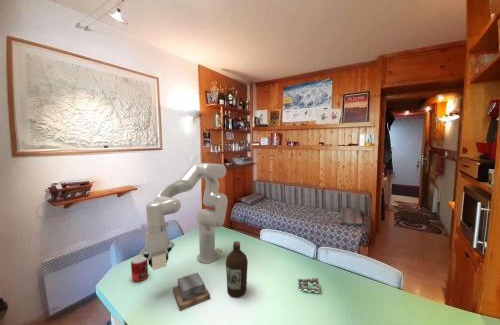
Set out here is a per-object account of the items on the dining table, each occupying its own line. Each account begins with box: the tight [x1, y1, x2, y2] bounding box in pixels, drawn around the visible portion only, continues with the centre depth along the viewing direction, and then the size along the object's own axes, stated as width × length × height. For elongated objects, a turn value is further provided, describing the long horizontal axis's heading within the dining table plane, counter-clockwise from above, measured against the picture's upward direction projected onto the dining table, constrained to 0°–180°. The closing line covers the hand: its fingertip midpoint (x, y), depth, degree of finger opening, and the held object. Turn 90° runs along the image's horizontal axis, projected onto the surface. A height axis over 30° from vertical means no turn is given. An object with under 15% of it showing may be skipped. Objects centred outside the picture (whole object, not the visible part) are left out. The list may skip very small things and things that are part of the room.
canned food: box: [130, 254, 149, 283], centre depth 114 cm, size 8×8×11 cm
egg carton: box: [297, 277, 321, 292], centre depth 107 cm, size 11×8×4 cm
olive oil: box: [225, 240, 249, 299], centre depth 103 cm, size 11×11×25 cm
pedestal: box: [172, 272, 211, 312], centre depth 102 cm, size 14×14×7 cm
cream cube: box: [151, 250, 167, 271], centre depth 101 cm, size 6×6×6 cm
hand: (158, 263), depth 102 cm, fingers closed on cream cube, 6 cm apart
